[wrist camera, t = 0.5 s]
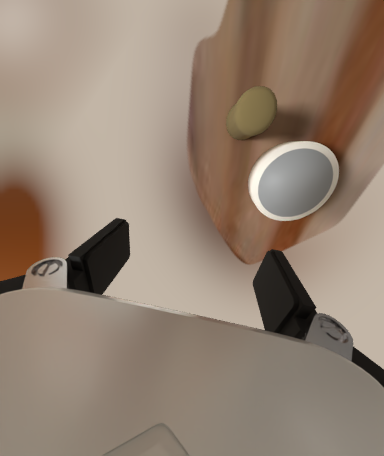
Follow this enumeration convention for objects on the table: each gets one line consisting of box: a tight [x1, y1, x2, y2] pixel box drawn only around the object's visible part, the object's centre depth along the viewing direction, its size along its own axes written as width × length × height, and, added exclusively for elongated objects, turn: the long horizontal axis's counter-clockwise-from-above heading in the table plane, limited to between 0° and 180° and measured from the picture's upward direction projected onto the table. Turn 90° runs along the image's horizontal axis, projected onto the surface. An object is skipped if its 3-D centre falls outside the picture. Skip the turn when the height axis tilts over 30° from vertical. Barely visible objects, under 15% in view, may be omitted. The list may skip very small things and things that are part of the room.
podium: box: [248, 141, 339, 221], centre depth 30 cm, size 14×14×5 cm
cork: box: [226, 86, 277, 140], centre depth 24 cm, size 6×6×11 cm
